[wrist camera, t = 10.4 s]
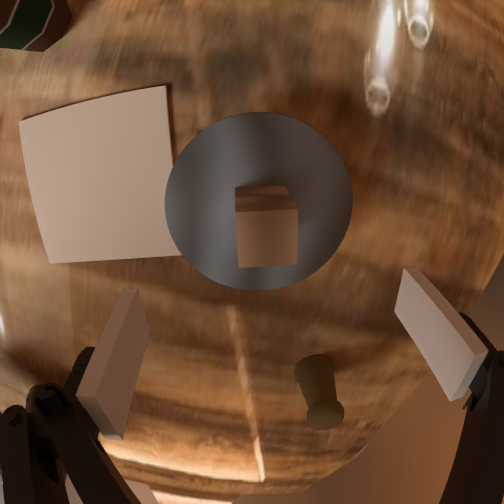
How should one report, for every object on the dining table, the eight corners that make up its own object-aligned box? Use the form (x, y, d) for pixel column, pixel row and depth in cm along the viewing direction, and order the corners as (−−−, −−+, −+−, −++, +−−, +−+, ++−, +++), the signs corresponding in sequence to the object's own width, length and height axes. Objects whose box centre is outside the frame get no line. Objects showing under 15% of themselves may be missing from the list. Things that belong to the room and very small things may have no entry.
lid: (180, 288, 31) (168, 336, 24) (157, 120, 24) (130, 127, 17) (341, 277, 31) (364, 322, 25) (350, 113, 24) (388, 119, 18)
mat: (51, 261, 36) (49, 263, 36) (21, 121, 28) (18, 121, 27) (185, 252, 37) (184, 254, 36) (166, 85, 28) (165, 85, 28)
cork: (303, 352, 45) (317, 411, 35) (338, 357, 46) (357, 412, 36) (288, 378, 48) (299, 435, 38) (322, 381, 49) (337, 435, 39)
